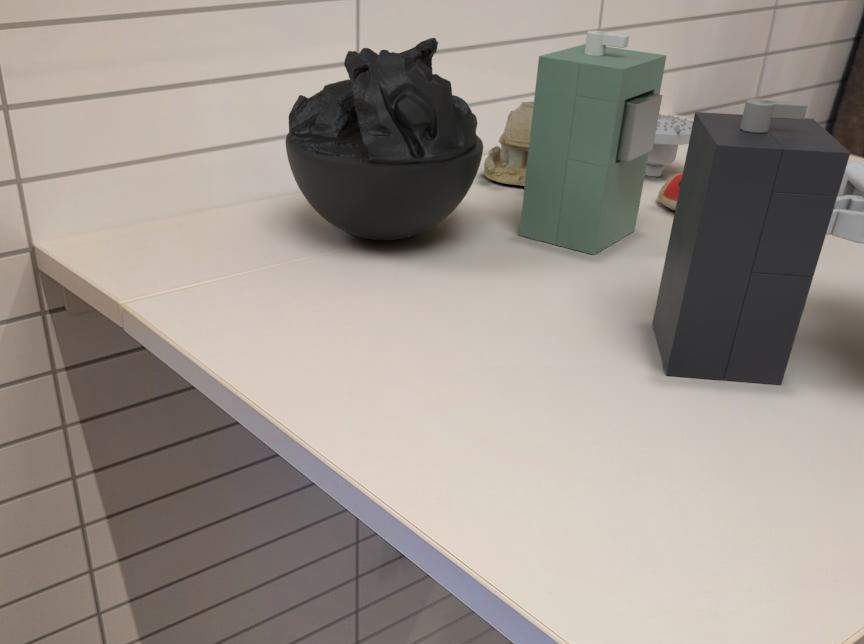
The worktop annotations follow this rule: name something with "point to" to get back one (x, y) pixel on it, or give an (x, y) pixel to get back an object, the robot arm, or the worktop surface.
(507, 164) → the ceramic model
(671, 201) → the red and beige wedge
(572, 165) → the soap dispenser
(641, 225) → the worktop surface
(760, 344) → the lotion dispenser
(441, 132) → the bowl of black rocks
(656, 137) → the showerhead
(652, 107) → the plate
